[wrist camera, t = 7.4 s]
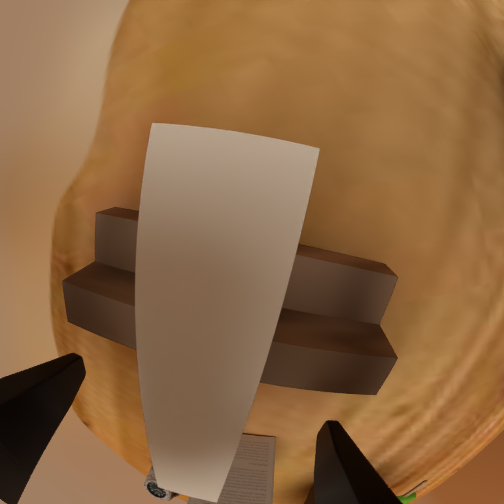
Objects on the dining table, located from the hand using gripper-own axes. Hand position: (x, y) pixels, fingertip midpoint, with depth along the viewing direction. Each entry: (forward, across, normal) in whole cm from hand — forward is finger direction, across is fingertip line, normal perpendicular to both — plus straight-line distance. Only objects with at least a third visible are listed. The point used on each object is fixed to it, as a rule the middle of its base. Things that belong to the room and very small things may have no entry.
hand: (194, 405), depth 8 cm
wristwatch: (+8, +4, +26) cm, 28 cm away
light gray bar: (+3, 0, 0) cm, 3 cm away
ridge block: (+8, 0, 0) cm, 8 cm away
